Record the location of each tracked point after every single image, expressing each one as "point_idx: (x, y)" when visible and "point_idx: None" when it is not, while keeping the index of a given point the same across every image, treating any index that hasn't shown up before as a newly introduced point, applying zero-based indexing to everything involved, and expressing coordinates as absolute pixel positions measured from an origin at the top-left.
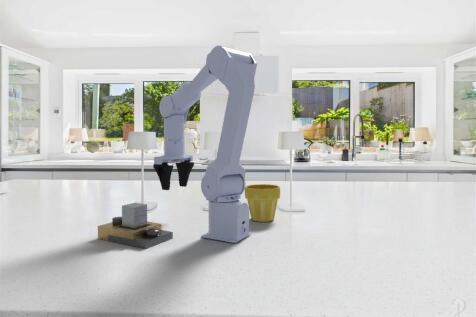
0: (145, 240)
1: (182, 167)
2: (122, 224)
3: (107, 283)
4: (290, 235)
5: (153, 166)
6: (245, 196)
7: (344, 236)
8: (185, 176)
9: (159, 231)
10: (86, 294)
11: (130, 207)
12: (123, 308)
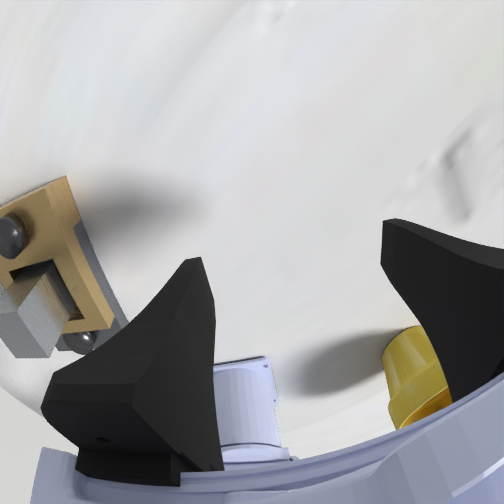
0: (60, 345)
1: (469, 334)
2: (14, 281)
3: (17, 378)
4: (315, 421)
5: (49, 389)
6: (413, 381)
7: (346, 438)
8: (419, 308)
9: (91, 351)
10: (4, 379)
11: (7, 344)
12: (33, 409)
